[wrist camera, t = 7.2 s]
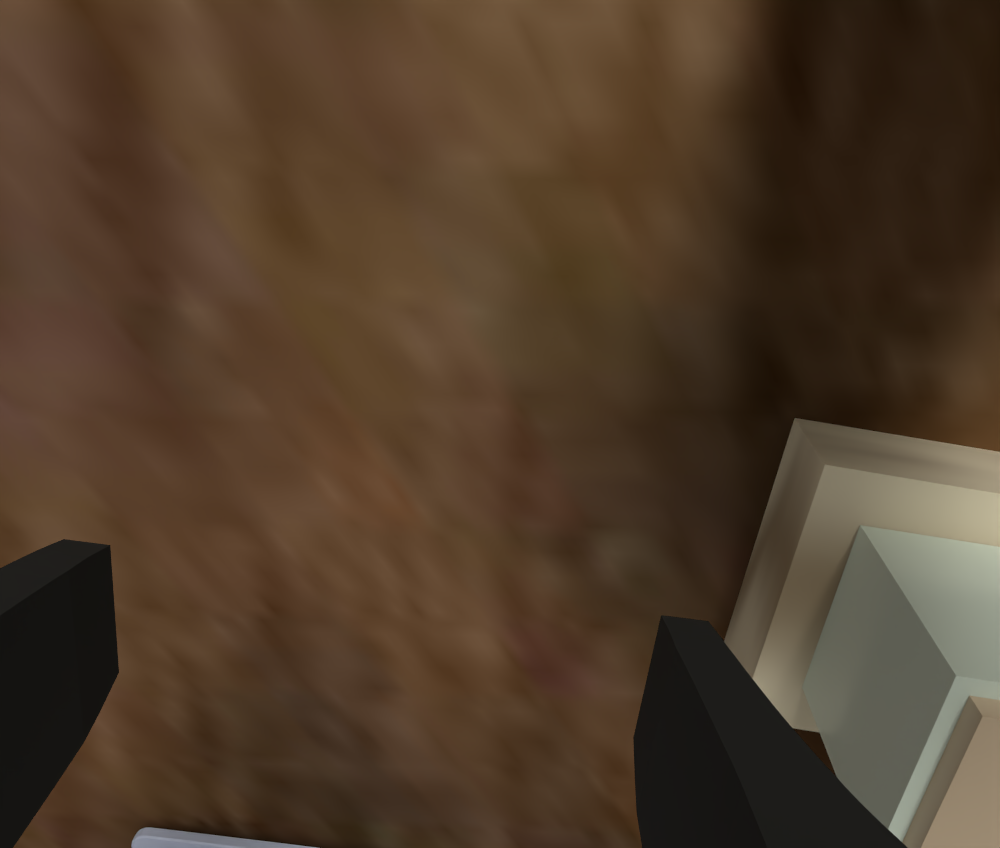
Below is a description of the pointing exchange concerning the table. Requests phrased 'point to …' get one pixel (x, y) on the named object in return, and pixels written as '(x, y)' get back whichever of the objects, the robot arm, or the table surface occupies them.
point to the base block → (844, 536)
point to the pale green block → (915, 686)
